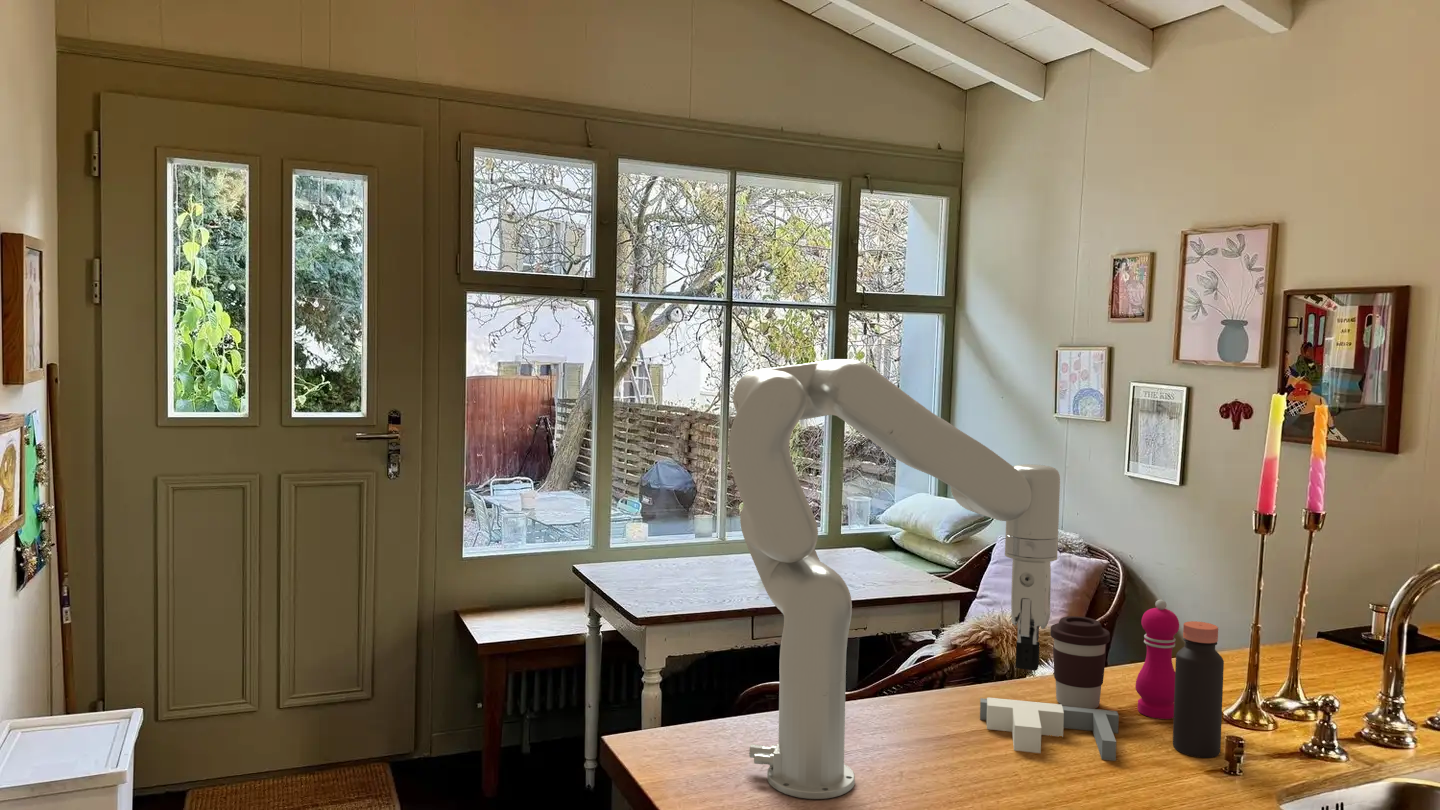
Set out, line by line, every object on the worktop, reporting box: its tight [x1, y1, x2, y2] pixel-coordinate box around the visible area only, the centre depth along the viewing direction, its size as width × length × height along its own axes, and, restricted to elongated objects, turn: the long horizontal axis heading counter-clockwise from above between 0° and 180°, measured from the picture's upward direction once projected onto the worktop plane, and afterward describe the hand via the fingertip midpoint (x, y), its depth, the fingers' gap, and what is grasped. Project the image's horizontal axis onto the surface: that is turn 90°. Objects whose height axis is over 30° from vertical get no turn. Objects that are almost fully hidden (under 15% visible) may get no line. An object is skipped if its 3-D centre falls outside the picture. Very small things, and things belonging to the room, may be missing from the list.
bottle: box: [1172, 620, 1225, 759], centre depth 154 cm, size 7×7×20 cm
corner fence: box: [979, 697, 1120, 762], centre depth 159 cm, size 22×14×3 cm, turn 76°
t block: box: [986, 697, 1064, 754], centre depth 159 cm, size 12×12×4 cm
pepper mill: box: [1135, 599, 1180, 720], centre depth 170 cm, size 7×7×20 cm
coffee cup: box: [1049, 615, 1111, 709], centre depth 175 cm, size 10×10×15 cm
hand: (1027, 667), depth 148 cm, fingers closed
